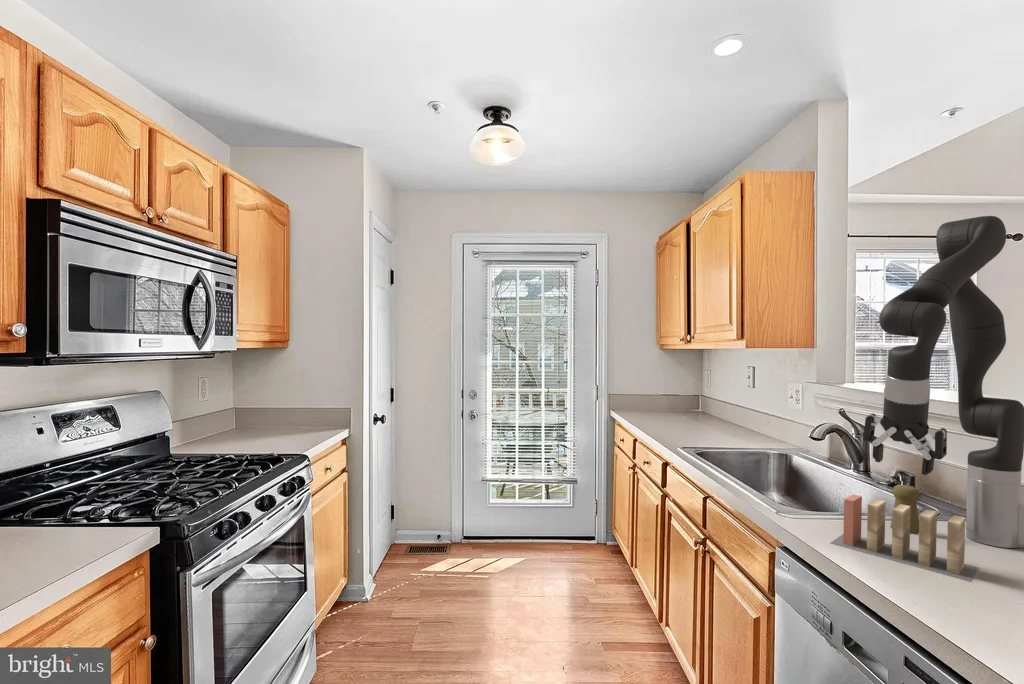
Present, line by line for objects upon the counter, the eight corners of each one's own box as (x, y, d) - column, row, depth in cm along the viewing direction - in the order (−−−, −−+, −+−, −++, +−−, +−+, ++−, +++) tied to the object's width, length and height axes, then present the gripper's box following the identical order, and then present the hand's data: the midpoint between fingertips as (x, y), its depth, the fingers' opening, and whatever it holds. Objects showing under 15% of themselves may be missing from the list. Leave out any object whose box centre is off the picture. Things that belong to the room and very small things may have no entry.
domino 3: (909, 552, 112) (910, 506, 112) (902, 559, 108) (903, 511, 108) (899, 549, 114) (900, 504, 114) (891, 556, 110) (892, 509, 110)
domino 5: (964, 566, 105) (965, 517, 105) (958, 574, 101) (959, 523, 101) (952, 563, 107) (953, 515, 107) (946, 571, 103) (947, 521, 103)
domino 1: (861, 539, 119) (861, 496, 119) (852, 546, 115) (853, 501, 115) (851, 537, 120) (852, 494, 120) (843, 543, 116) (844, 499, 116)
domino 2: (884, 546, 116) (885, 501, 116) (876, 552, 112) (877, 506, 112) (874, 543, 117) (875, 499, 117) (866, 550, 113) (867, 504, 113)
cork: (926, 536, 123) (927, 490, 123) (897, 534, 124) (898, 488, 124) (912, 527, 129) (913, 483, 129) (885, 525, 130) (885, 481, 130)
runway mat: (979, 569, 105) (979, 567, 105) (970, 583, 99) (970, 581, 99) (844, 534, 123) (844, 533, 123) (829, 544, 117) (829, 543, 117)
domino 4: (936, 559, 109) (937, 511, 109) (929, 567, 105) (930, 517, 105) (925, 556, 110) (926, 509, 110) (918, 564, 106) (919, 515, 106)
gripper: (956, 398, 105) (949, 472, 108) (875, 384, 116) (871, 451, 120) (942, 409, 101) (935, 485, 104) (860, 393, 112) (856, 462, 116)
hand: (901, 467), depth 112 cm, fingers open, 8 cm apart
